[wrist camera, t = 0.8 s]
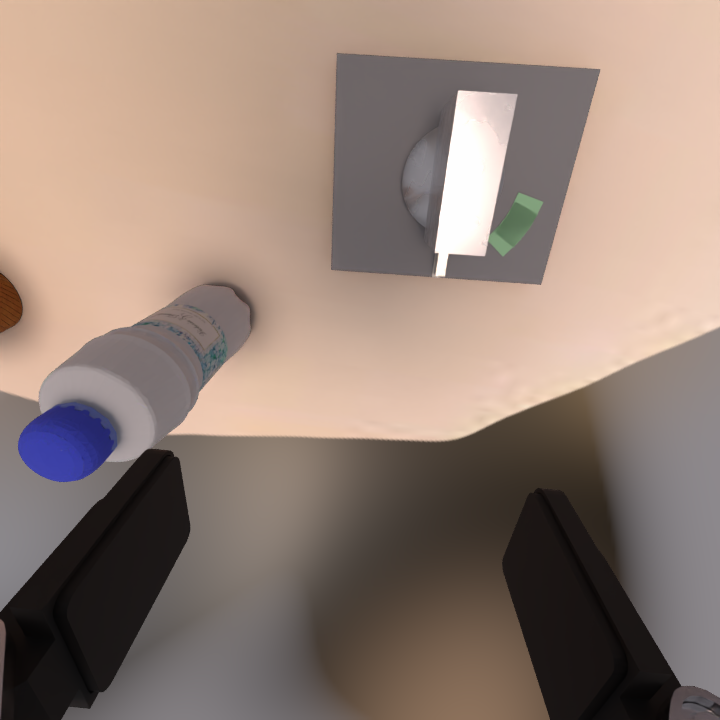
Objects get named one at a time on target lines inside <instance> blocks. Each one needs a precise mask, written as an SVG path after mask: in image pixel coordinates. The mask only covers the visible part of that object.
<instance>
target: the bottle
mask: <svg viewBox="0 0 720 720" xmlns="http://www.w3.org/2000/svg"><path fill="white" fill-rule="evenodd" d="M250 332H251V326H250V308H249V306H248V305H247V304H246V303H244V302H242V301H241V300H240V299H239V298H238V297H237V296H236V295H235V293H234V290H232V289H231V288H229V287H225V286H211V285H200V286H197V287H195V288H192V289H191V290H189V291H187V292H186V293H184V294H182V295H181V296H179V297H178V298H177V299H176V300H174V301H173V302H172V303H170V304H169V305H168V306H166V307H165V308H162V309H161V310H159V311H157V312H155V313H154V314H152V315H150V316H148V317H147V318H145V319H143V320H141V321H140V322H138V323H136V324H134V325H133V326H131V327H125V328H119V329H115V330H112V331H110V332H108V333H106V334H105V335H103V336H99V337H96V338H94V339H92V340H91V341H89V342H88V343H86V344H85V345H84V346H83V347H82V348H81V349H80V350H79V351H78V352H76V353H75V354H74V355H73V356H71V357H70V358H69V359H68V360H66V361H65V362H64V363H63V364H61V365H60V366H59V367H58V368H56V369H55V370H54V371H52V372H51V373H50V374H49V375H48V376H47V378H46V379H45V380H44V381H43V383H42V386H41V388H40V391H39V405H40V410H41V413H42V414H41V415H40V416H39V417H37V418H36V419H34V420H33V421H32V422H31V423H29V425H27V426H26V428H25V429H24V430H23V432H22V433H21V435H20V438H19V442H18V450H19V454H20V456H21V458H22V460H23V461H24V462H25V464H26V465H27V466H28V467H29V468H30V469H32V470H33V471H34V472H35V473H37V474H39V475H40V476H43V477H45V478H47V479H50V480H53V481H59V482H68V481H76V480H80V479H82V478H84V477H86V476H88V475H90V474H91V473H93V472H94V471H95V470H96V469H97V468H99V467H100V466H101V465H102V464H103V463H104V461H108V462H122V461H128V460H131V459H135V458H138V457H140V456H141V454H142V453H143V452H144V451H145V450H147V449H151V448H152V447H153V446H154V445H155V444H156V443H158V442H159V441H160V440H161V439H162V438H163V437H165V436H166V435H167V434H168V433H169V432H171V431H172V430H173V429H175V428H176V427H177V426H179V425H180V424H181V423H182V422H183V421H184V419H185V418H186V416H187V414H188V412H189V411H190V410H191V409H192V408H193V407H194V405H195V403H196V401H197V399H198V394H199V392H200V390H201V389H202V388H203V387H204V386H205V385H206V383H207V382H208V381H209V380H210V379H211V378H212V377H213V375H214V374H215V373H216V372H217V371H218V370H219V369H220V367H221V366H222V365H223V364H224V363H225V362H226V361H227V360H228V359H229V358H231V357H232V356H233V355H234V354H235V353H236V352H237V351H238V350H239V349H240V348H241V347H242V346H243V344H244V343H245V341H246V340H247V338H248V337H249V334H250Z"/></svg>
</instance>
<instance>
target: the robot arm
mask: <svg viewBox="0 0 720 720" xmlns="http://www.w3.org/2000/svg"><path fill="white" fill-rule="evenodd" d="M189 533H190V521H189V515H188V509H187V503H186V497H185V491H184V485H183V479H182V472H181V466H180V461H179V458H178V457H174V454H173V452H172V451H168V450H159V449H147V450H145V451H144V452H143V453H142V454H141V456H140V457H139V458H138V459H137V460H136V461H135V463H134V464H133V465H132V466H131V467H130V468H129V470H128V471H127V472H126V473H125V474H124V475H123V476H122V477H121V479H120V480H119V481H118V482H117V483H116V484H115V486H114V487H113V488H112V489H111V490H110V491H109V492H108V494H107V495H106V496H105V497H104V498H103V499H101V500H99V501H98V502H97V503H96V504H95V505H94V506H93V507H92V508H91V509H90V510H89V512H88V513H87V514H86V515H85V516H84V517H83V518H82V520H81V521H80V522H79V523H78V524H77V525H76V527H75V528H74V529H73V530H72V531H71V532H70V533H69V534H68V536H67V537H66V538H65V539H64V540H63V541H62V542H61V544H60V545H59V546H58V547H57V548H56V549H55V550H54V551H53V553H52V554H51V555H50V556H49V557H48V558H47V559H46V561H45V562H44V563H43V564H42V565H41V566H40V567H39V569H38V570H37V571H36V572H35V573H34V574H33V575H32V577H31V578H30V579H29V580H28V581H27V582H26V583H25V585H24V586H23V587H22V588H21V589H20V590H19V591H18V593H17V594H16V595H15V596H14V597H13V598H12V599H11V601H10V602H9V603H8V604H7V605H6V606H5V607H4V608H3V610H2V611H1V612H0V720H61V719H62V717H63V715H64V714H65V712H66V710H67V709H68V707H79V708H88V709H90V708H91V705H92V704H93V702H94V700H95V698H96V697H97V695H98V693H99V692H104V691H105V690H106V689H107V688H108V687H109V685H110V684H111V682H112V681H113V679H114V677H115V675H116V673H117V671H118V669H119V668H120V666H121V664H122V662H123V660H124V658H125V656H126V654H127V653H128V651H129V649H130V647H131V645H132V643H133V641H134V639H135V638H136V636H137V634H138V632H139V630H140V628H141V626H142V624H143V623H144V621H145V619H146V617H147V615H148V613H149V611H150V609H151V608H152V605H153V604H154V602H155V600H156V598H157V596H158V594H159V592H160V590H161V589H162V587H163V585H164V583H165V581H166V579H167V577H168V576H169V574H170V571H171V570H172V568H173V566H174V564H175V562H176V560H177V559H178V557H179V555H180V553H181V551H182V549H183V547H184V545H185V544H186V542H187V539H188V537H189ZM502 565H503V572H504V575H505V579H506V582H507V585H508V589H509V591H510V595H511V598H512V601H513V604H514V607H515V611H516V614H517V617H518V620H519V623H520V626H521V629H522V632H523V636H524V639H525V642H526V645H527V648H528V651H529V654H530V658H531V661H532V664H533V667H534V670H535V673H536V676H537V680H538V682H539V686H540V688H541V692H542V695H543V698H544V702H545V705H546V708H547V711H548V714H549V717H550V720H720V698H719V697H717V696H715V695H714V694H712V693H710V692H709V691H707V690H704V689H701V688H698V687H695V686H681V685H680V683H679V681H678V680H677V678H676V676H675V675H674V673H673V671H672V670H671V668H670V666H669V665H668V663H667V661H666V660H665V658H664V656H663V655H662V653H661V651H660V650H659V648H658V646H657V645H656V643H655V641H654V640H653V638H652V636H651V635H650V633H649V631H648V630H647V628H646V626H645V625H644V623H643V621H642V620H641V618H640V616H639V615H638V613H637V611H636V610H635V608H634V606H633V604H632V603H631V601H630V600H629V598H628V596H627V595H626V593H625V591H624V590H623V588H622V586H621V585H620V583H619V581H618V579H617V578H616V576H615V575H614V573H613V571H612V569H611V568H610V566H609V565H608V563H607V561H606V560H605V558H604V556H603V555H602V554H601V553H600V551H599V550H598V549H597V547H596V546H595V544H594V542H593V540H592V539H591V537H590V535H589V534H588V532H587V530H586V529H585V527H584V525H583V524H582V522H581V520H580V519H579V517H578V515H577V513H576V512H575V510H574V508H573V507H572V505H571V504H570V502H569V500H568V498H567V497H566V495H565V494H564V492H562V491H560V490H553V489H543V488H538V489H536V490H535V492H534V493H530V494H529V495H528V497H527V499H526V502H525V505H524V507H523V509H522V512H521V514H520V517H519V519H518V522H517V524H516V527H515V530H514V532H513V534H512V537H511V539H510V542H509V545H508V547H507V549H506V552H505V555H504V557H503V562H502Z"/></svg>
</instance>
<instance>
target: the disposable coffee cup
mask: <svg viewBox="0 0 720 720" xmlns="http://www.w3.org/2000/svg"><path fill="white" fill-rule="evenodd" d="M21 314H22V305H21V300H20V298H19V296H18V293H17V292H16V290H15V288H14V287H13V285H12V284H11V283H10V282H9V281H8V280H7V279H6V278H5V277H4V276H3V275H2V274H0V333H1V332H3V331H5V330H6V329H8V328H10V327H12V326H14V325H15V324H16V323H18V321H19V320H20V318H21Z"/></svg>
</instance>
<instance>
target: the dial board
mask: <svg viewBox="0 0 720 720" xmlns="http://www.w3.org/2000/svg"><path fill="white" fill-rule="evenodd" d="M599 73H600V69H587V68H571V67H554V66H538V65H521V64H505V63H489V62H472V61H456V60H439V59H423V58H406V57H390V56H374V55H357V54H341V53H337V70H336V109H335V147H334V186H333V224H332V263H331V270H341V271H355V272H369V273H383V274H397V275H412V276H426V277H436V278H454V279H468V280H482V281H497V282H511V283H525V284H539V285H541V283H542V279H543V275H544V272H545V268H546V265H547V261H548V257H549V254H550V250H551V246H552V243H553V239H554V236H555V232H556V228H557V225H558V221H559V218H560V214H561V210H562V207H563V203H564V199H565V196H566V192H567V189H568V185H569V181H570V178H571V174H572V170H573V167H574V163H575V160H576V156H577V152H578V149H579V145H580V141H581V138H582V134H583V131H584V127H585V123H586V120H587V116H588V112H589V109H590V105H591V102H592V98H593V94H594V91H595V87H596V84H597V80H598V76H599ZM458 90H459V91H475V92H491V93H507V94H518V95H517V100H516V105H515V110H514V115H513V120H512V125H511V130H510V135H509V140H508V145H507V150H506V155H505V160H504V182H503V187H502V191H501V194H500V196H499V199H498V201H497V203H496V204H495V209H494V214H493V219H492V224H491V229H490V234H489V239H488V243H487V248H486V253H485V256H474V255H460V254H448V259H447V266H446V272H445V277H443V276H435V274H434V273H433V272H434V265H435V258H436V253H435V252H434V251H433V250H432V249H431V248H430V246H429V245H428V244H427V243H426V241H425V240H424V234H425V227H424V226H422V225H421V224H420V223H419V222H418V221H416V219H415V218H414V217H413V216H412V215H411V213H410V212H409V210H408V208H407V206H406V204H405V201H404V197H403V192H402V176H403V170H404V167H405V163H406V161H407V159H408V156H409V155H410V153H411V151H412V150H413V148H414V147H415V145H416V144H417V143H418V142H419V141H420V140H421V139H422V138H423V137H424V136H425V135H426V134H427V133H429V132H430V131H432V130H433V129H435V128H437V127H438V126H439V118H440V112H441V110H442V109H443V108H444V107H445V106H446V104H447V103H448V102H449V101H450V100H451V98H452V97H453V96H454V95H455V94H456V92H457V91H458Z"/></svg>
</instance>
